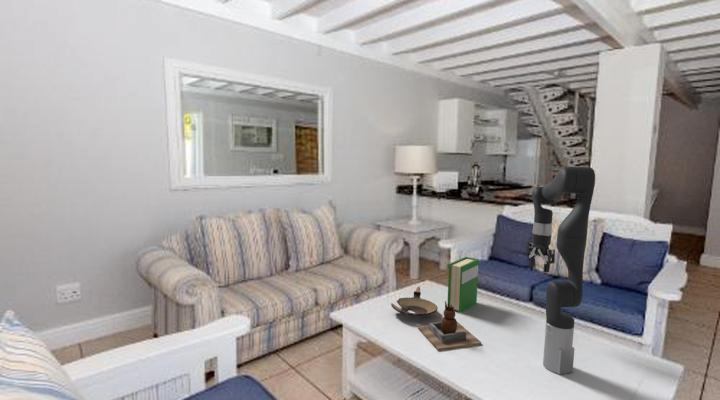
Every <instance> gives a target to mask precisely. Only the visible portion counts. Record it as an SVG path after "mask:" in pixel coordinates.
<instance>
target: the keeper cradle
mask: <svg viewBox="0 0 720 400" xmlns="http://www.w3.org/2000/svg"><path fill="white" fill-rule="evenodd" d="M428 323H429V324H428V325H421V326H420V325H419V326H417V329H418V330H419V332H420V333H421V334H422V336H423V337H424V338H426V339H427V341H428V342H429V343H430V344H431V345H432V346H433V348H434V349H435V350H436V351H438V352H440V351H448V350H453V349H459V348H460V349H461V348H469V347H474V346H481V345H482V341H481V340H479V338H477V337H476V336H475V335H473V334H472V333H471V332H470V331H468V329H466V328H465V327H464V326H463V324H461V323H460V322H459V321H457V329H456V332H455V333H450V334H444V333H443V332H442V328H441V321H437V322H436V321H435V322H434V321H433V322H428Z"/></svg>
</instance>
